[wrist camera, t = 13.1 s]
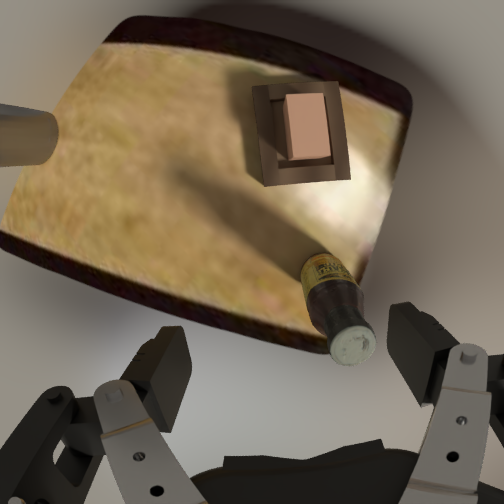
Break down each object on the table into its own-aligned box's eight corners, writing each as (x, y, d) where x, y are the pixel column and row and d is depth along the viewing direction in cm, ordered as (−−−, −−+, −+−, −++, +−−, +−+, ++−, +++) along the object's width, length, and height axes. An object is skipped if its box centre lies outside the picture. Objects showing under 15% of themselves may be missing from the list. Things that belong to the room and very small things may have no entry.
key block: (282, 108, 35) (286, 94, 29) (313, 106, 35) (322, 93, 28) (288, 160, 37) (293, 157, 30) (319, 158, 37) (330, 155, 30)
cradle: (264, 186, 39) (264, 186, 37) (252, 91, 36) (251, 86, 33) (345, 179, 38) (350, 179, 36) (333, 86, 35) (338, 81, 33)
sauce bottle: (349, 260, 41) (408, 326, 22) (330, 298, 43) (371, 384, 23) (307, 242, 41) (343, 303, 21) (289, 283, 42) (307, 368, 23)
